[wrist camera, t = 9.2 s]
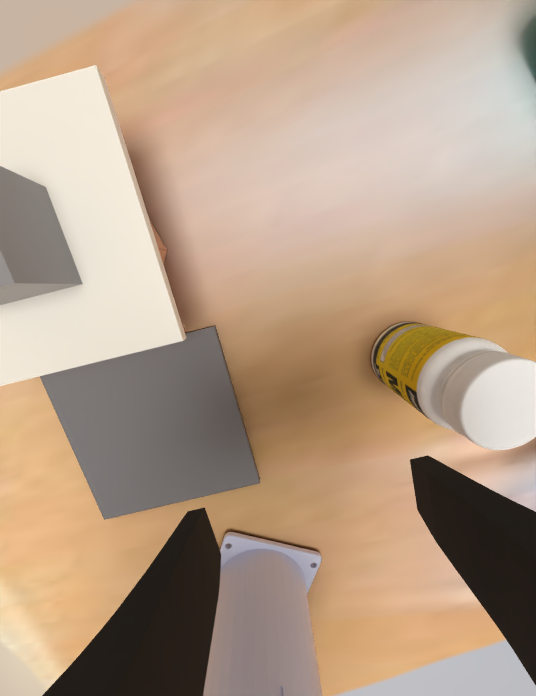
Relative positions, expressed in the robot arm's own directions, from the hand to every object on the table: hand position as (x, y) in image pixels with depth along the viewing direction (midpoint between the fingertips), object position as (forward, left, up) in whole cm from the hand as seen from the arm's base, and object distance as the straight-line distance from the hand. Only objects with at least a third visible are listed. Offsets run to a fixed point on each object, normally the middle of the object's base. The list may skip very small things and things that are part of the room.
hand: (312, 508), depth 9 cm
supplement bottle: (+5, -7, -11) cm, 14 cm away
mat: (-5, +8, -10) cm, 14 cm away
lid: (+5, +14, -5) cm, 16 cm away
